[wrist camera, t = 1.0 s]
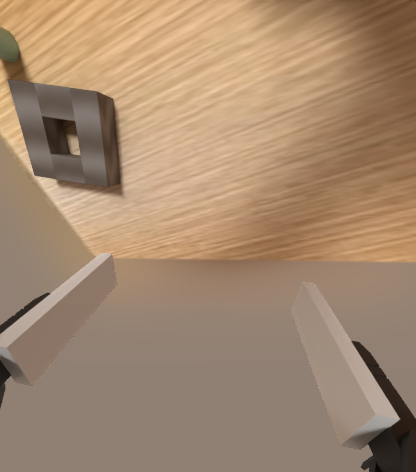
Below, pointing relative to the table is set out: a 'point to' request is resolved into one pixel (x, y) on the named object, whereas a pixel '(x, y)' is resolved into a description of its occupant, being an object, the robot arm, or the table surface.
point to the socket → (53, 134)
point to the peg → (8, 46)
